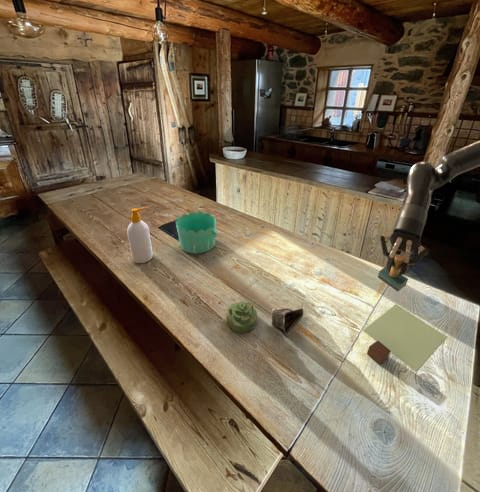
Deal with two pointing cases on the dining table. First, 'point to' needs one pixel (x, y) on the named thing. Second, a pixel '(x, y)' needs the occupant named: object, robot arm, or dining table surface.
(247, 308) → the decorative artifact
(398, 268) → the brush
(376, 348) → the brown cube
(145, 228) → the soap bottle
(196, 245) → the basket
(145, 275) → the dining table surface
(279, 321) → the dark flower pot
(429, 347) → the mat
